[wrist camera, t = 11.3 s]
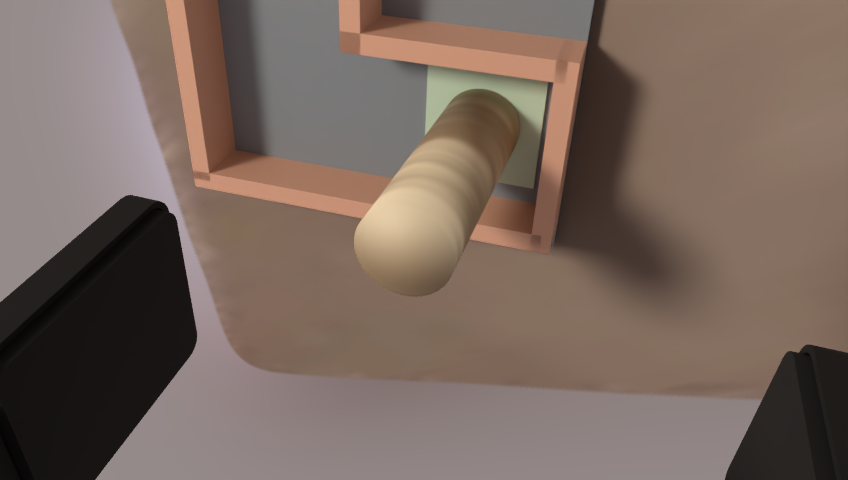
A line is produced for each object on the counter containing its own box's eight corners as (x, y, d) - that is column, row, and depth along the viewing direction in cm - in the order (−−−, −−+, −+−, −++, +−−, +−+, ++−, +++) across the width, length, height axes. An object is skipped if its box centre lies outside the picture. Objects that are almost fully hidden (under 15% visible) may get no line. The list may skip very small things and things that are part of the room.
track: (170, -281, 32) (119, -284, 29) (638, -262, 27) (633, -264, 25) (230, 179, 45) (199, 208, 42) (554, 241, 40) (545, 278, 37)
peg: (446, 82, 36) (353, 197, 27) (524, 95, 35) (458, 219, 26) (441, 154, 39) (354, 283, 29) (515, 168, 38) (450, 306, 28)
